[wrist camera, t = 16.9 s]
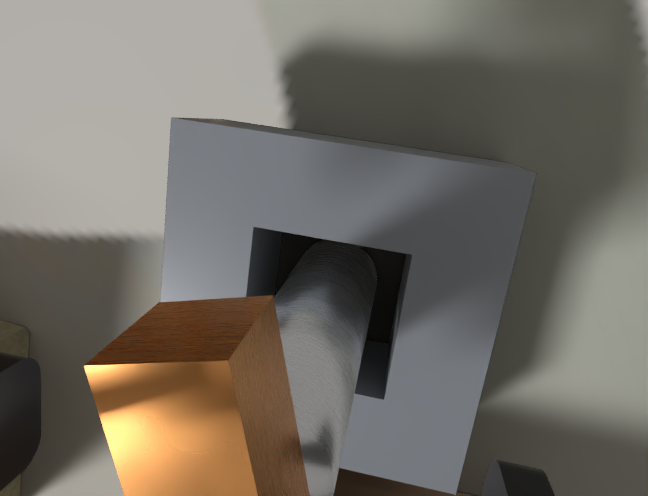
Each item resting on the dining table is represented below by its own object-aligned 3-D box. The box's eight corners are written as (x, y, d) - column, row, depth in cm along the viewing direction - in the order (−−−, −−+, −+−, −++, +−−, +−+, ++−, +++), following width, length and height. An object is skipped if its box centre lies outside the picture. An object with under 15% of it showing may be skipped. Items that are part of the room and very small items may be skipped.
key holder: (200, 368, 20) (153, 424, 17) (221, 119, 18) (171, 117, 14) (446, 421, 19) (455, 494, 15) (506, 162, 17) (536, 173, 13)
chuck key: (282, 188, 18) (51, 367, 7) (366, 179, 17) (267, 358, 6) (311, 362, 20) (171, 726, 9) (386, 359, 19) (342, 749, 8)
